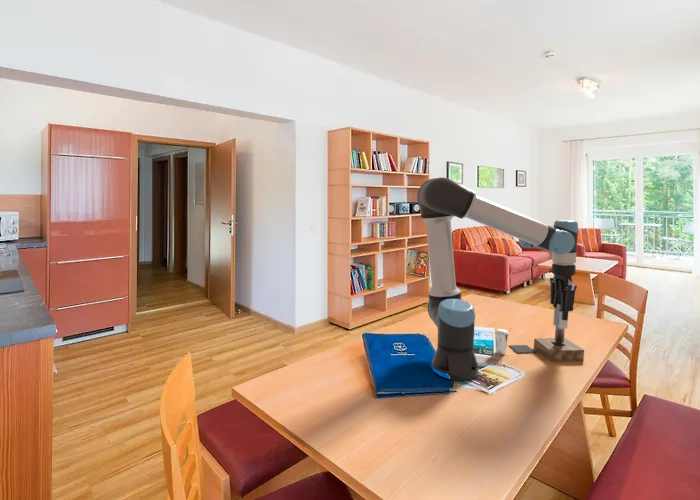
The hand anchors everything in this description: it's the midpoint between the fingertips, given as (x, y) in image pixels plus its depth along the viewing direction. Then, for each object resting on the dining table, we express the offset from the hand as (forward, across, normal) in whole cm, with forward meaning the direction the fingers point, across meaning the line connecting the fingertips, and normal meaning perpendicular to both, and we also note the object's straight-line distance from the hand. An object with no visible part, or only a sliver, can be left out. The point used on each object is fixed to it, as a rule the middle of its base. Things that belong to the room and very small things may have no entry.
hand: (560, 326), depth 145 cm
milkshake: (+11, +2, +20) cm, 23 cm away
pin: (+6, 0, 0) cm, 6 cm away
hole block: (+11, 0, 0) cm, 11 cm away
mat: (+11, +5, +11) cm, 16 cm away
